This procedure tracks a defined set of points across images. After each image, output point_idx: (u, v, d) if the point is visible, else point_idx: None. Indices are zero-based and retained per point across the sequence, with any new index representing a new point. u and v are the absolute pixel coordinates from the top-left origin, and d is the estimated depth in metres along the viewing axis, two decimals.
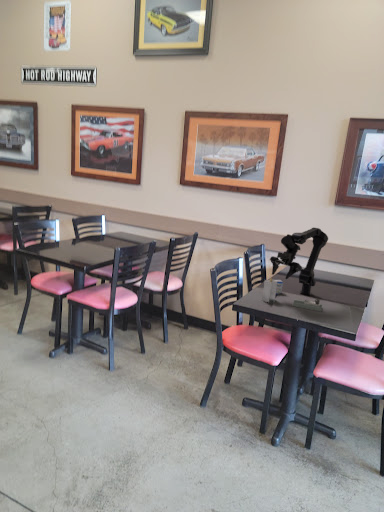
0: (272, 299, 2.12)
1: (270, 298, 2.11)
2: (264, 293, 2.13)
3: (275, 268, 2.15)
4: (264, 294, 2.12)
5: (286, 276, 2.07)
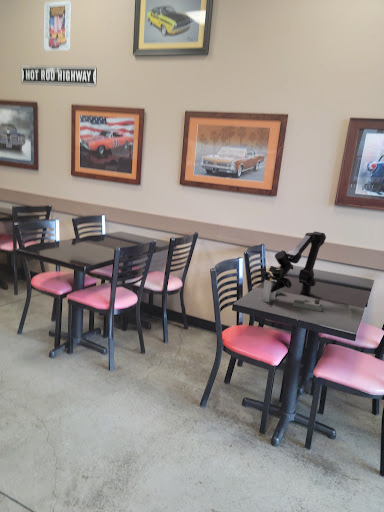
0: (272, 298, 2.12)
1: (270, 298, 2.11)
2: (264, 293, 2.13)
3: None
4: (264, 294, 2.12)
5: (272, 289, 2.09)
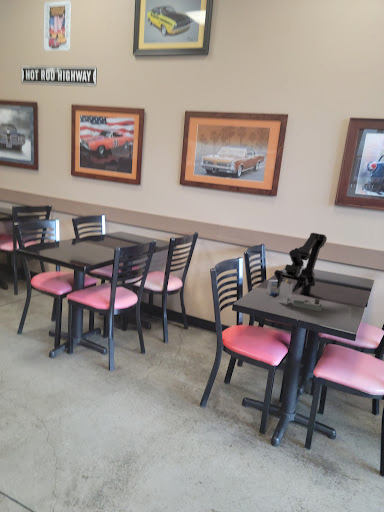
0: (289, 300, 2.08)
1: (288, 299, 2.07)
2: (280, 294, 2.08)
3: (280, 281, 2.12)
4: (281, 295, 2.08)
5: (293, 289, 2.04)
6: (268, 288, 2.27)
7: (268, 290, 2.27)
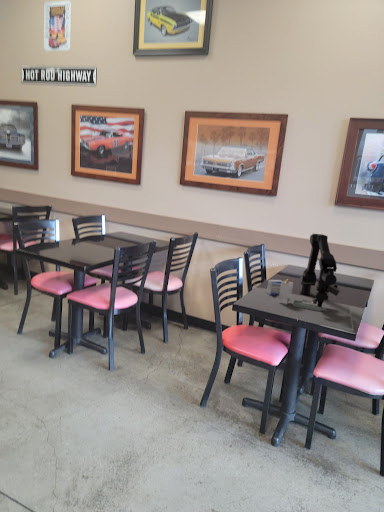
0: (289, 300, 2.08)
1: (288, 299, 2.07)
2: (280, 294, 2.08)
3: None
4: (281, 295, 2.08)
5: (321, 305, 2.03)
6: (268, 288, 2.27)
7: (268, 290, 2.27)
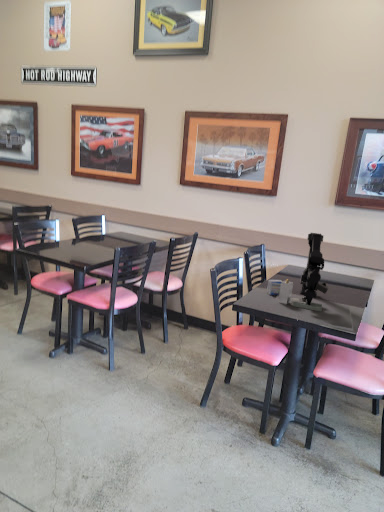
0: (289, 300, 2.08)
1: (288, 299, 2.07)
2: (280, 294, 2.08)
3: None
4: (281, 295, 2.08)
5: (310, 303, 2.05)
6: (268, 288, 2.27)
7: (268, 290, 2.27)
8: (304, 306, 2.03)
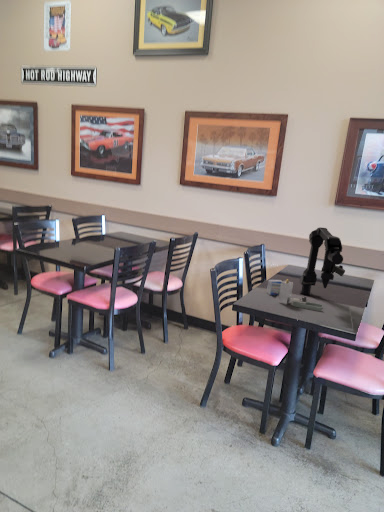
0: (289, 300, 2.08)
1: (288, 299, 2.07)
2: (280, 294, 2.08)
3: None
4: (281, 295, 2.08)
5: (326, 286, 2.03)
6: (268, 288, 2.27)
7: (268, 290, 2.27)
8: (304, 306, 2.03)
